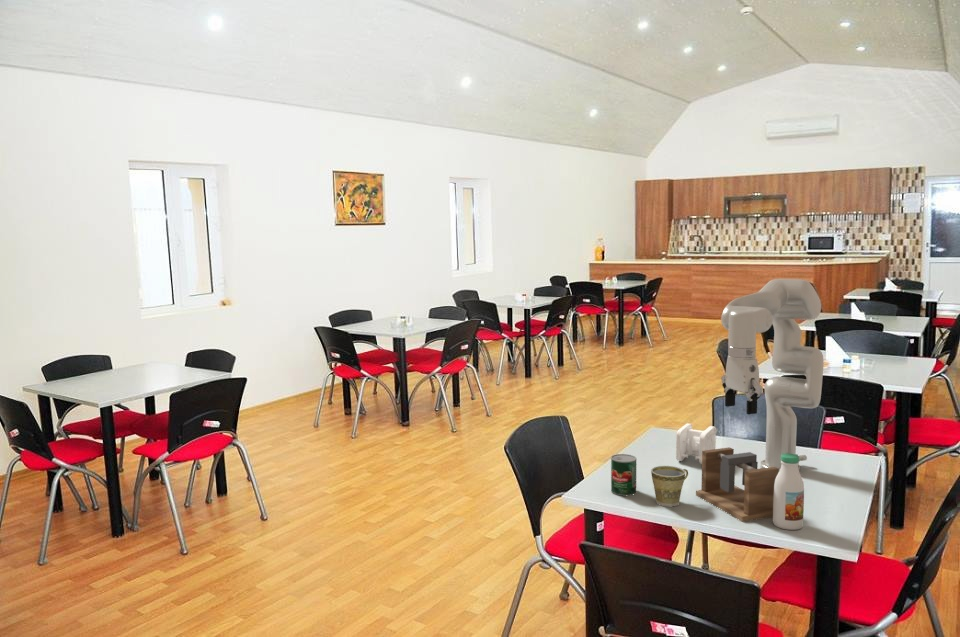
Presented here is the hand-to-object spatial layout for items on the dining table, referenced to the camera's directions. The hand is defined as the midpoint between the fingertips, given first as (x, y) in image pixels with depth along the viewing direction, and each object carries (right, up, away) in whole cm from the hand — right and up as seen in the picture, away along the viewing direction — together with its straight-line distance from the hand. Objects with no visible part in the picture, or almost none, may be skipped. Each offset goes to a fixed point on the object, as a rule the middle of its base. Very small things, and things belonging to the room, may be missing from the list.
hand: (740, 409), depth 213 cm
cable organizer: (+1, -24, +46) cm, 52 cm away
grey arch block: (0, -24, +2) cm, 24 cm away
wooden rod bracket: (0, -29, +3) cm, 29 cm away
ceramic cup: (-19, -29, +6) cm, 35 cm away
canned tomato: (-31, -28, +16) cm, 45 cm away
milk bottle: (+9, -31, -12) cm, 34 cm away
